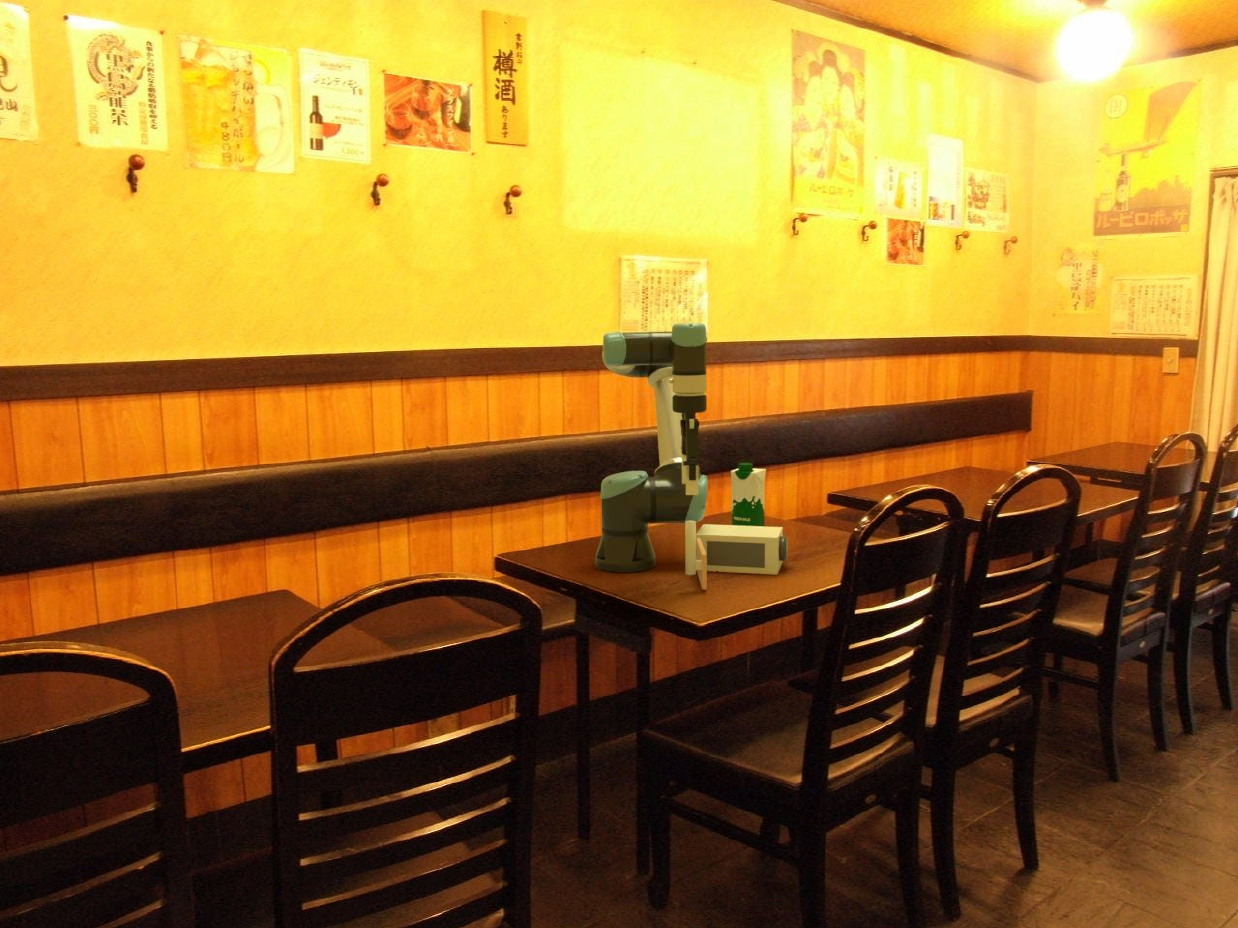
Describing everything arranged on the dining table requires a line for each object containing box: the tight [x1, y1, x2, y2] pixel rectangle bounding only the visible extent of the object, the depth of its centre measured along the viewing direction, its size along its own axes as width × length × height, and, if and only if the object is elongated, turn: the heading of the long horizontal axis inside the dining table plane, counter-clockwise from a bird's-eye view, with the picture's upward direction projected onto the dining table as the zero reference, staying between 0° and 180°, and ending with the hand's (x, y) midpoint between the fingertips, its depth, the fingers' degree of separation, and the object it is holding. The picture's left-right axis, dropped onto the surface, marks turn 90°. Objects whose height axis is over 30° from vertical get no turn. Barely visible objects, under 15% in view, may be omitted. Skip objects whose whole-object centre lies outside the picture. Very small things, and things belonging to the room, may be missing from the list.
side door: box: [684, 520, 708, 591], centre depth 229 cm, size 18×5×16 cm, turn 0°
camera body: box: [696, 523, 789, 576], centre depth 242 cm, size 22×12×9 cm, turn 75°
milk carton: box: [730, 462, 767, 527], centre depth 280 cm, size 9×9×20 cm
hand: (689, 489), depth 219 cm, fingers open, 13 cm apart
